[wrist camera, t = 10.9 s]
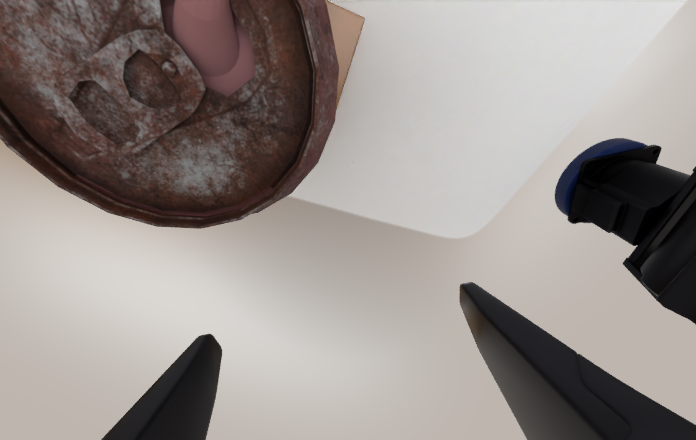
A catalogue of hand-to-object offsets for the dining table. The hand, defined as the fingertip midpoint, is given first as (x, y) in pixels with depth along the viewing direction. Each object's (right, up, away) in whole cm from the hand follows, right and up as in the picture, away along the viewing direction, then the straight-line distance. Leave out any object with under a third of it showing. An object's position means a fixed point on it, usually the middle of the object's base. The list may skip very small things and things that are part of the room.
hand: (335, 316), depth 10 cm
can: (-4, +13, +6) cm, 15 cm away
